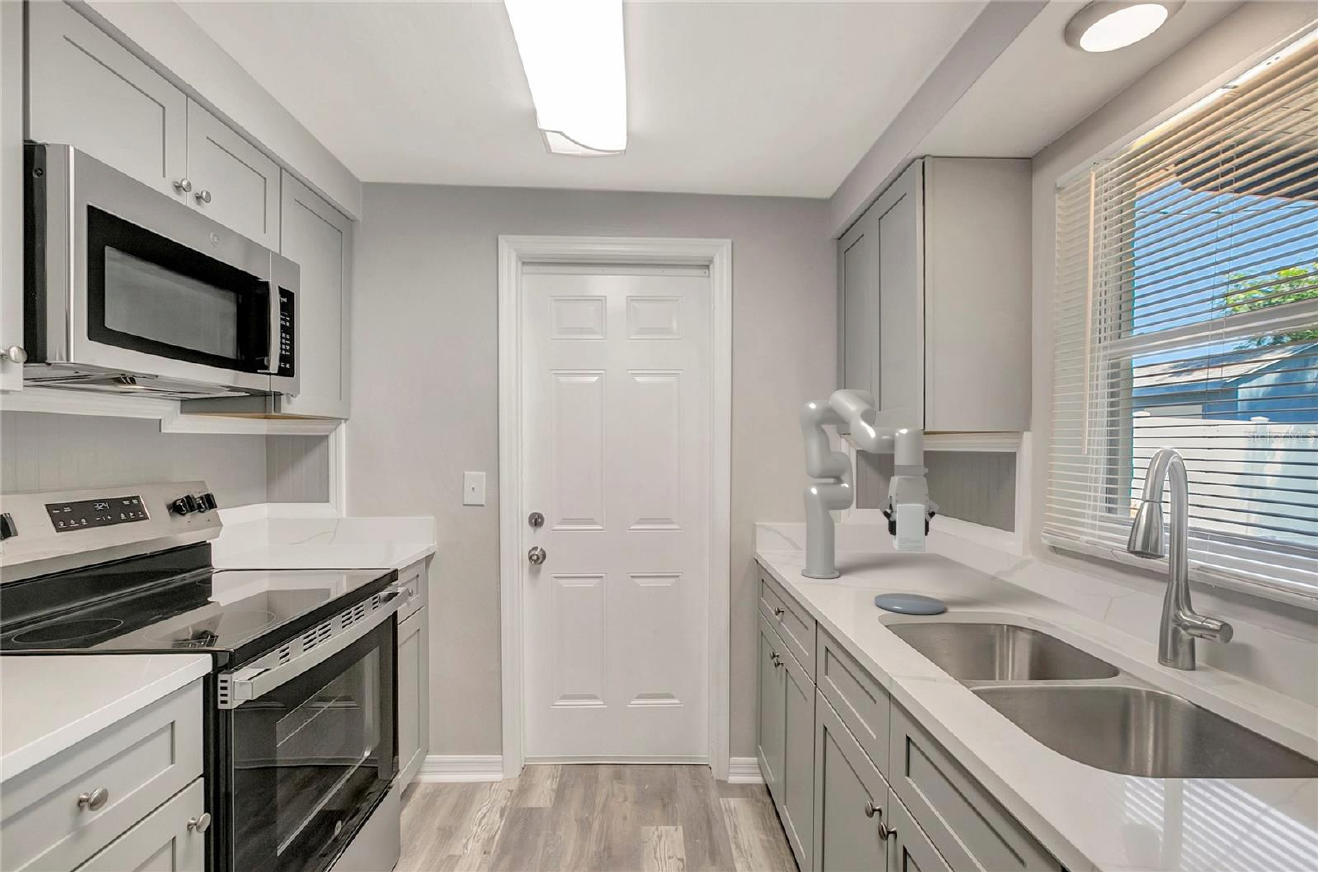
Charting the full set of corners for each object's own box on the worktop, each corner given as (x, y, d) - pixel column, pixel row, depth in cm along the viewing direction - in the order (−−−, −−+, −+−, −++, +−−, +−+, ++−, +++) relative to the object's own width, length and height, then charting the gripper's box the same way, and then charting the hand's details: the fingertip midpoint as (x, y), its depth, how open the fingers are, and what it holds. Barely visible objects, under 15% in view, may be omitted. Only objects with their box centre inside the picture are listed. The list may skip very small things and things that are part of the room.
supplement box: (925, 552, 169) (925, 505, 169) (896, 550, 171) (896, 504, 171) (919, 547, 177) (920, 502, 177) (892, 546, 178) (892, 502, 178)
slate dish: (865, 598, 182) (865, 593, 182) (927, 598, 182) (927, 593, 182) (888, 615, 164) (888, 609, 164) (956, 615, 164) (956, 609, 164)
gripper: (934, 471, 178) (933, 533, 178) (872, 471, 178) (872, 532, 178) (946, 473, 170) (945, 537, 170) (882, 472, 170) (882, 536, 170)
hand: (908, 534), depth 174 cm, fingers closed on supplement box, 8 cm apart
